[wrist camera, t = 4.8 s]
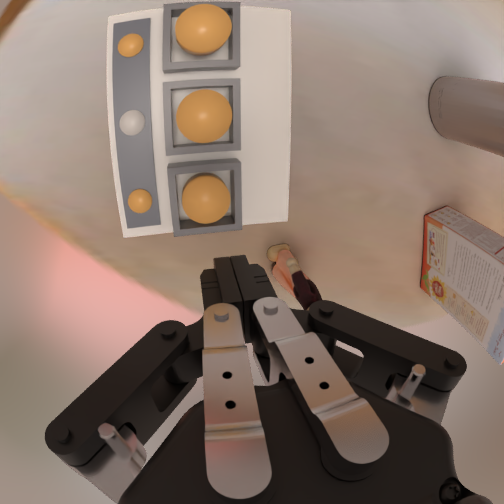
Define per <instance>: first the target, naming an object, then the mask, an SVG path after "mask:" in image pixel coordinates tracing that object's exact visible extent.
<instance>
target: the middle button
mask: <svg viewBox="0 0 504 504" xmlns="http://www.w3.org/2000/svg"><path fill="white" fill-rule="evenodd" d="M231 121H232V109H231V106H230V104H229V102H228V101H227V99H226V98H225V97H224V96H223V95H221V94H220V93H218V92H216V91H213V90H208V89H203V90H197V91H194V92H192V93H190V94H189V95H187V96H186V97H185V98H184V99H183V100H182V101H181V103H180V104H179V106H178V109H177V113H176V122H177V126H178V128H179V130H180V132H181V133H182V134H183V135H184V136H185V137H186V138H187V139H189V140H191V141H194V142H197V143H209V142H213V141H215V140H217V139H219V138H220V137H222V136H223V135H224V134H225V133H226V132H227V130H228V129H229V127H230V124H231Z"/></svg>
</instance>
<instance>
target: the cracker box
mask: <svg viewBox="0 0 504 504" xmlns="http://www.w3.org/2000/svg"><path fill="white" fill-rule="evenodd" d="M421 289H423V290H424V291H425V292H426V293H427V294H428V295H429V296H430V297H431V298H432V299H434V300H435V301H436V302H437V303H438V304H439V305H440V306H441V307H442V308H443V309H444V310H445V311H447V312H448V313H449V314H450V315H451V316H452V317H453V318H454V319H455V320H456V321H457V322H458V323H459V324H460V325H461V326H462V327H463V328H464V329H465V330H466V331H467V332H468V333H469V334H470V335H472V337H473V338H474V339H475V340H476V341H477V342H478V343H479V344H480V345H481V346H482V347H483V348H484V349H485V350H486V351H487V352H488V353H489V354H490V355H491V356H492V357H493V358H494V359H495V360H496V361H497V362H498V364H500V365H501V364H502V363H503V362H504V237H503V236H501V235H499V234H498V233H496V232H494V231H493V230H491V229H489V228H487V227H486V226H484V225H482V224H480V223H479V222H477V221H475V220H473V219H471V218H470V217H468V216H466V215H464V214H462V213H460V212H459V211H457V210H455V209H453V208H451V207H449V206H446V207H443V208H441V209H439V210H436V211H434V212H432V213H430V214H427V215H425V217H424V251H423V266H422V278H421Z"/></svg>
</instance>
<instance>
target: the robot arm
mask: <svg viewBox="0 0 504 504" xmlns="http://www.w3.org/2000/svg"><path fill="white" fill-rule="evenodd" d="M429 109H430V115H431V118H432V122H433V124H434V126H435V128H436V130H437V131H438V133H440V134H441V135H442V136H443V137H445V138H447V139H451V140H454V141H458V142H461V143H464V144H467V145H470V146H474V147H477V148H480V149H483V150H486V151H489V152H491V153H494V154H497V155H500V156H502V157H504V83H502V82H495V81H488V80H480V79H471V78H461V77H447V76H444V77H440V78H439V79H437V80H436V82H435V83H434V85H433V87H432V89H431V93H430V99H429ZM200 279H201V288H202V296H203V304H204V315H203V316H202V318H201V319H200V320H199V321H197V322H196V323H194V324H192V325H189V326H185V325H184V324H183V323H181V322H179V321H174V320H169V321H164V322H161V323H159V324H157V325H156V326H155V327H153V328H152V329H151V330H150V331H149V332H148V333H147V334H146V335H145V336H144V337H143V338H142V339H140V340H139V341H138V342H137V343H136V344H135V345H134V346H133V347H132V348H130V350H128V351H127V352H126V353H125V354H124V355H123V356H122V357H121V358H120V359H119V360H117V361H116V362H115V363H114V364H113V365H112V366H111V367H110V368H109V369H108V370H107V371H105V373H103V374H102V375H101V376H100V377H99V378H98V379H97V380H96V381H95V382H94V383H93V384H91V385H90V386H89V387H88V388H87V389H86V390H85V391H84V392H83V393H82V394H81V395H80V396H79V397H77V398H76V399H75V400H74V401H73V402H72V403H71V404H70V405H69V406H68V407H67V408H66V409H65V410H64V411H63V412H62V413H60V415H58V416H57V417H56V418H55V419H54V420H53V421H52V422H51V423H50V424H49V425H48V427H47V429H46V432H45V441H46V444H47V446H48V448H49V449H51V451H53V452H54V453H55V454H56V455H57V456H58V457H59V458H60V459H61V460H62V461H63V462H64V463H65V464H66V465H68V466H69V467H70V468H71V469H73V470H74V471H75V472H77V473H78V474H79V475H81V476H83V477H85V478H86V479H88V480H89V481H90V482H92V484H94V485H95V486H96V487H97V488H98V489H99V490H101V491H102V492H103V493H104V494H106V495H107V496H108V497H109V498H110V499H111V500H113V501H114V502H115V503H117V504H493V503H492V502H491V501H490V500H489V499H488V498H486V497H484V496H481V495H478V494H475V493H473V492H471V491H470V490H468V489H467V488H465V487H464V486H463V485H462V484H461V483H460V481H459V480H458V478H457V475H456V471H455V466H454V460H453V445H452V441H451V438H450V436H449V434H448V433H447V431H446V430H445V429H444V428H443V427H442V426H441V422H442V419H443V416H444V413H445V409H446V406H447V403H448V399H449V395H450V393H451V392H452V390H453V389H454V388H455V386H456V385H457V383H458V382H459V380H460V379H461V377H462V376H463V375H464V373H465V371H466V368H467V364H466V361H465V359H464V358H463V357H462V356H461V355H460V354H459V353H457V352H456V351H453V350H451V349H448V348H446V347H443V346H441V345H438V344H435V343H433V342H430V341H428V340H425V339H423V338H420V337H418V336H415V335H413V334H410V333H408V332H406V331H403V330H401V329H398V328H396V327H393V326H391V325H388V324H386V323H383V322H381V321H378V320H376V319H373V318H371V317H369V316H366V315H364V314H361V313H359V312H356V311H354V310H351V309H349V308H347V307H344V306H342V305H339V304H337V303H335V302H332V301H327V300H320V301H316V302H314V303H312V304H311V305H310V307H309V310H296V309H291V308H289V307H288V305H287V304H286V302H285V301H283V300H281V299H279V298H278V297H277V295H276V293H275V291H274V289H273V287H272V285H271V282H270V281H269V278H268V276H267V274H266V272H265V270H264V269H263V268H262V267H261V266H259V265H258V264H250V265H249V263H248V261H247V258H246V256H245V255H239V256H230V258H229V257H221V258H214V269H206V270H203V272H202V274H201V276H200ZM337 340H338V341H341V342H343V343H345V344H347V345H349V346H352V347H354V348H356V349H358V350H360V351H361V352H362V353H363V355H364V358H362V357H360V356H358V355H356V354H353V353H351V352H349V351H347V350H345V349H342V348H340V347H338V346H336V341H337ZM244 341H245V343H252V345H253V357H254V359H255V362H256V364H257V367H258V369H259V371H260V374H261V376H262V379H263V381H264V383H265V386H254V384H253V378H252V373H251V367H250V362H249V356H248V350H247V346H245V343H244ZM201 376H203V389H204V390H203V391H204V400H202V401H200V402H199V403H197V404H195V405H194V406H193V407H191V408H190V409H189V410H188V411H187V412H186V413H185V414H184V415H183V416H182V418H181V419H180V420H179V422H178V423H177V424H176V426H175V427H174V428H173V430H172V431H171V432H170V434H169V435H168V436H167V438H166V439H165V440H164V442H163V443H162V444H161V445H160V447H159V448H158V449H157V451H156V452H155V453H154V455H153V456H152V457H151V458H150V460H149V461H148V462H147V464H146V465H145V466H144V467H143V465H144V463H145V461H146V457H147V455H146V450H145V448H144V444H145V443H146V442H147V441H148V440H149V439H150V437H151V436H152V435H153V434H154V433H155V432H156V431H157V429H158V428H159V427H160V426H161V425H162V423H163V422H164V421H165V420H166V419H167V418H168V416H169V415H170V414H171V413H172V411H173V410H174V409H175V408H176V407H177V406H178V404H179V403H180V402H181V401H182V399H183V398H184V397H185V396H186V395H187V394H188V392H189V391H190V390H191V389H192V387H193V386H194V385H195V383H196V381H197V378H199V377H201ZM142 467H143V469H142ZM141 469H142V470H141Z"/></svg>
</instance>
